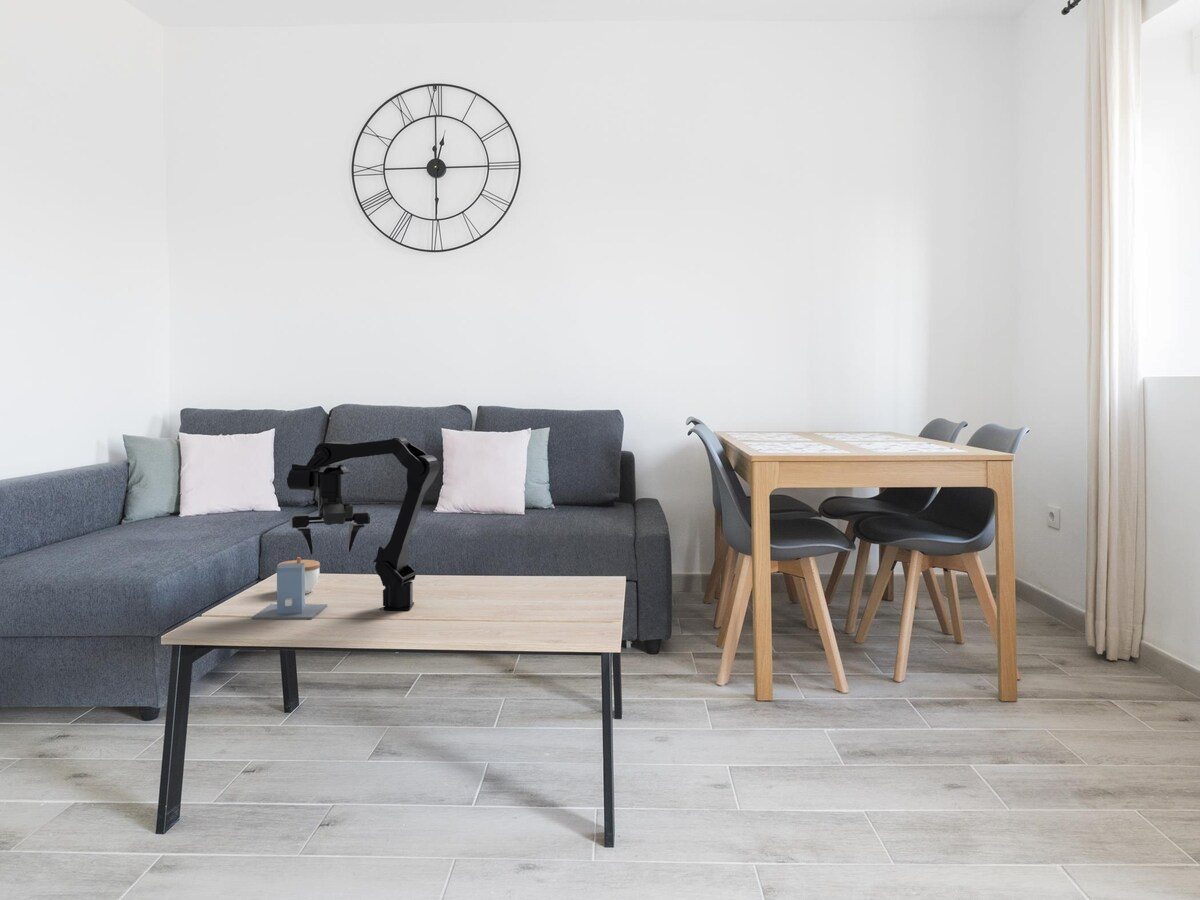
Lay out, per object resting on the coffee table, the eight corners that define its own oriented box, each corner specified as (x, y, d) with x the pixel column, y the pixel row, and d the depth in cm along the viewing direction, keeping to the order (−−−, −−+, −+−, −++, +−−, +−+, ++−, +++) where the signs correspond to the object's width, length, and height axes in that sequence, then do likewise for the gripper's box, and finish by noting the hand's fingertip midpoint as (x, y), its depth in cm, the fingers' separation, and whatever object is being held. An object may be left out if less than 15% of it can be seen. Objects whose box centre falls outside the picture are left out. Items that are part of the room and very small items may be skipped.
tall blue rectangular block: (280, 607, 197) (280, 563, 196) (305, 606, 198) (304, 562, 198) (275, 616, 190) (275, 570, 189) (300, 614, 191) (300, 569, 190)
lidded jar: (306, 598, 209) (305, 562, 209) (269, 595, 212) (268, 560, 211) (327, 588, 220) (327, 554, 219) (292, 586, 222) (292, 552, 221)
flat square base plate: (327, 606, 201) (327, 588, 201) (312, 619, 189) (312, 600, 189) (270, 606, 201) (270, 588, 200) (252, 618, 189) (251, 600, 188)
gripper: (294, 496, 191) (295, 561, 192) (374, 493, 200) (374, 555, 201) (289, 491, 201) (289, 553, 202) (365, 489, 210) (365, 548, 210)
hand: (330, 552), depth 203 cm, fingers open, 9 cm apart
